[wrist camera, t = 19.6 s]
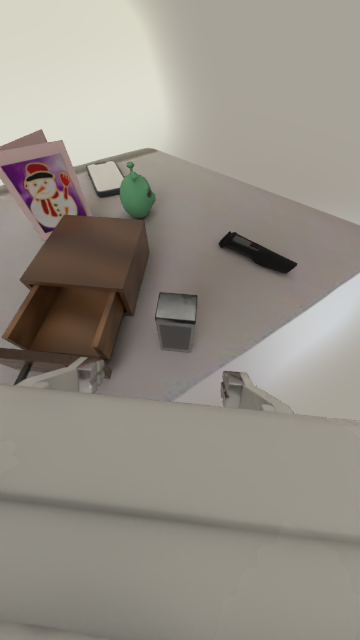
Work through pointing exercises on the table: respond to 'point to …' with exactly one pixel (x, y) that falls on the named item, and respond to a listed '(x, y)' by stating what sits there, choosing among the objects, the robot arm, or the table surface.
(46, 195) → the greeting card
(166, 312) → the grey block
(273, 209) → the table surface
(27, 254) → the table surface
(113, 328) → the drawer
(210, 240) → the table surface
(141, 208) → the alien toy
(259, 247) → the electric trimmer
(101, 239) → the cabinet
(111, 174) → the phone case
